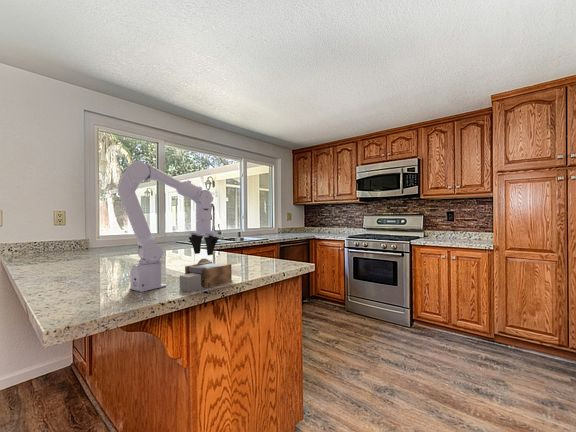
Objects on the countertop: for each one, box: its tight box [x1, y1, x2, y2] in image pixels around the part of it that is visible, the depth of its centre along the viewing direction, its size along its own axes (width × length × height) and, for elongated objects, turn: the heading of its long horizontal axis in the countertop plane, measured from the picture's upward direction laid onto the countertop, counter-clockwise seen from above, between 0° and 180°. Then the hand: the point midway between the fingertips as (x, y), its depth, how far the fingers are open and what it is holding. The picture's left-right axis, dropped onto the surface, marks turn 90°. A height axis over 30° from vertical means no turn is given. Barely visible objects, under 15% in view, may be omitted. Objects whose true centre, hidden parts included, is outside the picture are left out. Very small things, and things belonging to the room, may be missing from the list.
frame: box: [184, 261, 233, 288], centre depth 109 cm, size 12×12×6 cm
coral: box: [196, 258, 211, 264], centre depth 124 cm, size 14×6×6 cm, turn 19°
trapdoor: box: [189, 262, 223, 274], centre depth 109 cm, size 11×9×2 cm
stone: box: [179, 273, 202, 293], centre depth 99 cm, size 5×5×5 cm
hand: (203, 254), depth 114 cm, fingers open, 7 cm apart
